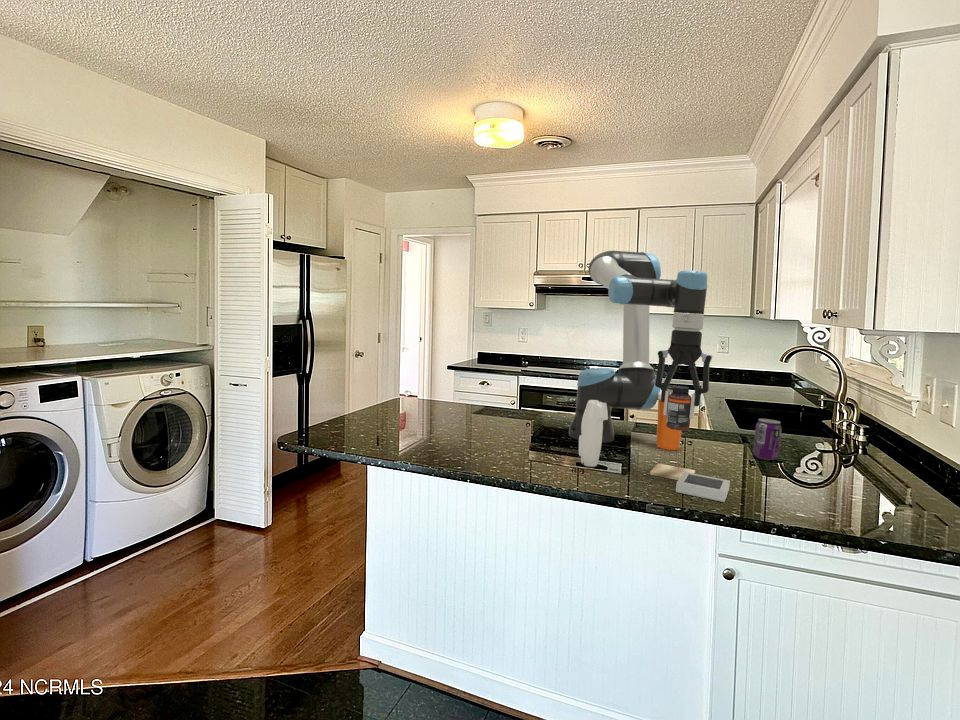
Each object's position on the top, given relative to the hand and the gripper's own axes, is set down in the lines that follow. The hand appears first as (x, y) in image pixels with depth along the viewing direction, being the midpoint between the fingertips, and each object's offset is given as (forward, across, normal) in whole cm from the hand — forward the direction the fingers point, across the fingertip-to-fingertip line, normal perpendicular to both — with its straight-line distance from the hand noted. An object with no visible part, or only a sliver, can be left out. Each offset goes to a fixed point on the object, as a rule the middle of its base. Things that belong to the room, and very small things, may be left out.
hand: (678, 416), depth 149 cm
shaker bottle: (+16, -7, +30) cm, 35 cm away
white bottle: (+16, -21, -7) cm, 27 cm away
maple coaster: (+16, 0, 0) cm, 16 cm away
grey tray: (+16, +9, -10) cm, 21 cm away
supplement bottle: (+4, 0, 0) cm, 4 cm away
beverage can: (+16, +21, +38) cm, 46 cm away
